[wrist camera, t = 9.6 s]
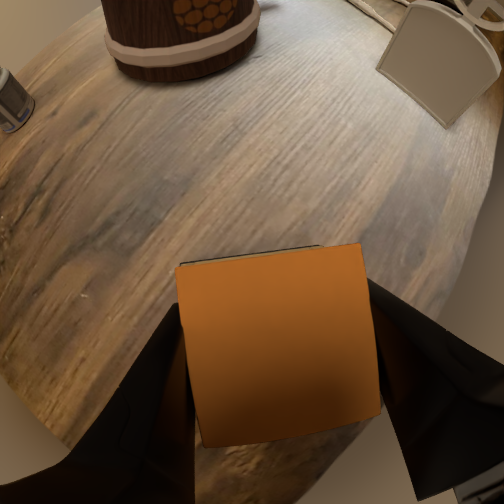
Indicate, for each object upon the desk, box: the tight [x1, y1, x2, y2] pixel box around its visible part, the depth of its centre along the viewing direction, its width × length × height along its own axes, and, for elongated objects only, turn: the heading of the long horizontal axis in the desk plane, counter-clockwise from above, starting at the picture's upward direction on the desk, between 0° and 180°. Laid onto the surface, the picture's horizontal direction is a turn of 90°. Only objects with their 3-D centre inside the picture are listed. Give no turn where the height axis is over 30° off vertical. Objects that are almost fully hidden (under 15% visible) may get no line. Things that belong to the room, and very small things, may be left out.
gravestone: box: [376, 0, 504, 129], centre depth 15 cm, size 3×9×18 cm, turn 47°
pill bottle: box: [0, 67, 34, 133], centre depth 18 cm, size 5×5×8 cm
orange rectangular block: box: [175, 243, 381, 448], centre depth 11 cm, size 5×5×8 cm
